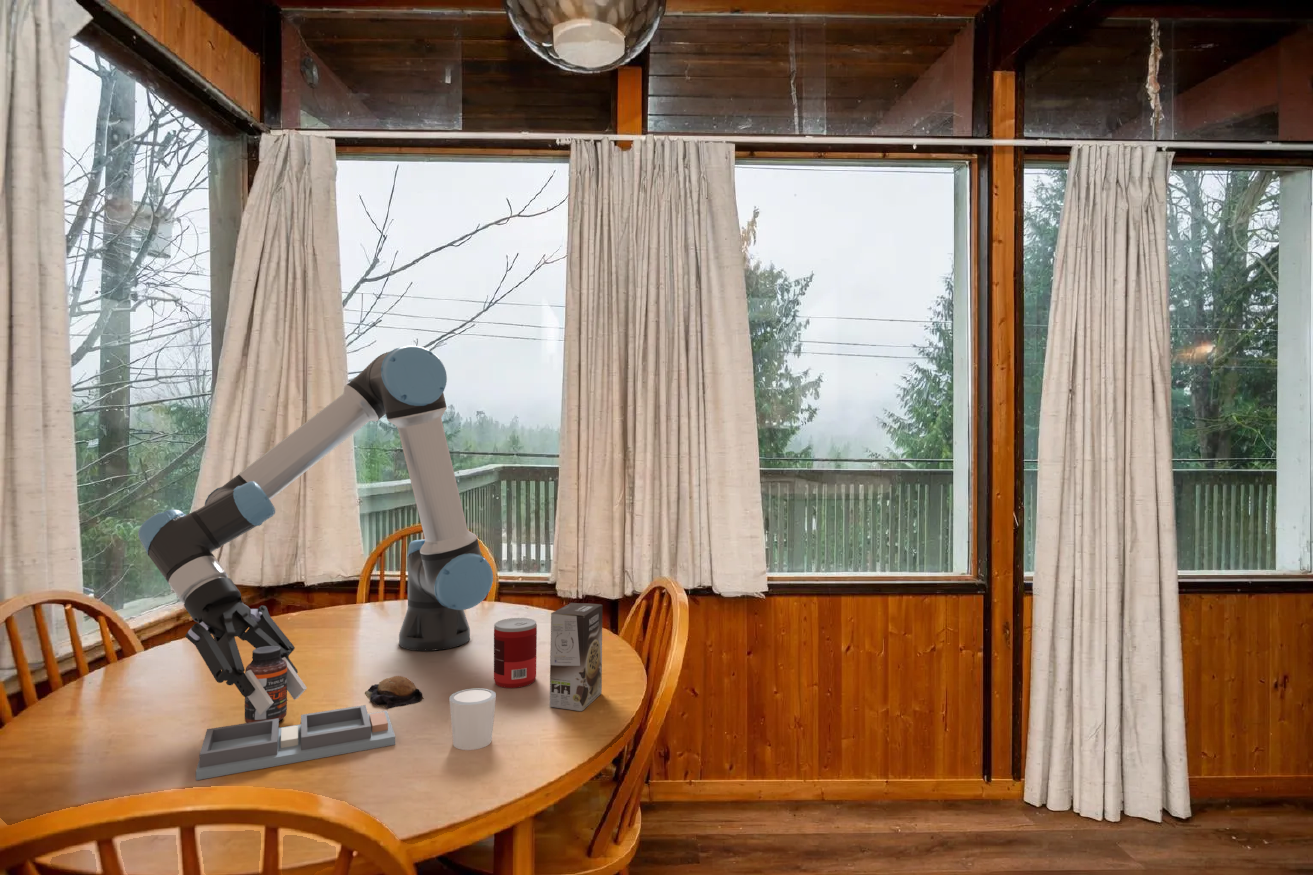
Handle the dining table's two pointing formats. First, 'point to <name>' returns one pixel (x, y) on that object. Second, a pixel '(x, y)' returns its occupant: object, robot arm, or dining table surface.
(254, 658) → the supplement bottle
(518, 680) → the canned food
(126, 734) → the dining table surface
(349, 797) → the dining table surface
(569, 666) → the grey food box
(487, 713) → the white short cylinder
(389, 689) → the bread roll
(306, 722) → the compartment tray
